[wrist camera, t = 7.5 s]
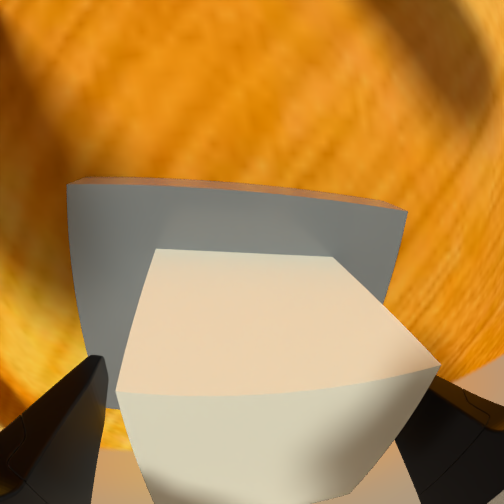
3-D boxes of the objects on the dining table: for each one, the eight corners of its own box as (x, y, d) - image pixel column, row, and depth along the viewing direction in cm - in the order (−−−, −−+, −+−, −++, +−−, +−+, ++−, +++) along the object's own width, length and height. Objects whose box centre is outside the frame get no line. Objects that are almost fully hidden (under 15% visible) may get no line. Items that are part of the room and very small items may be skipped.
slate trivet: (383, 201, 12) (407, 211, 10) (332, 379, 15) (344, 401, 14) (85, 176, 10) (66, 184, 8) (108, 381, 13) (102, 407, 11)
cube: (332, 257, 10) (440, 364, 5) (300, 381, 12) (349, 493, 7) (155, 248, 9) (115, 391, 4) (162, 384, 11) (159, 515, 6)
